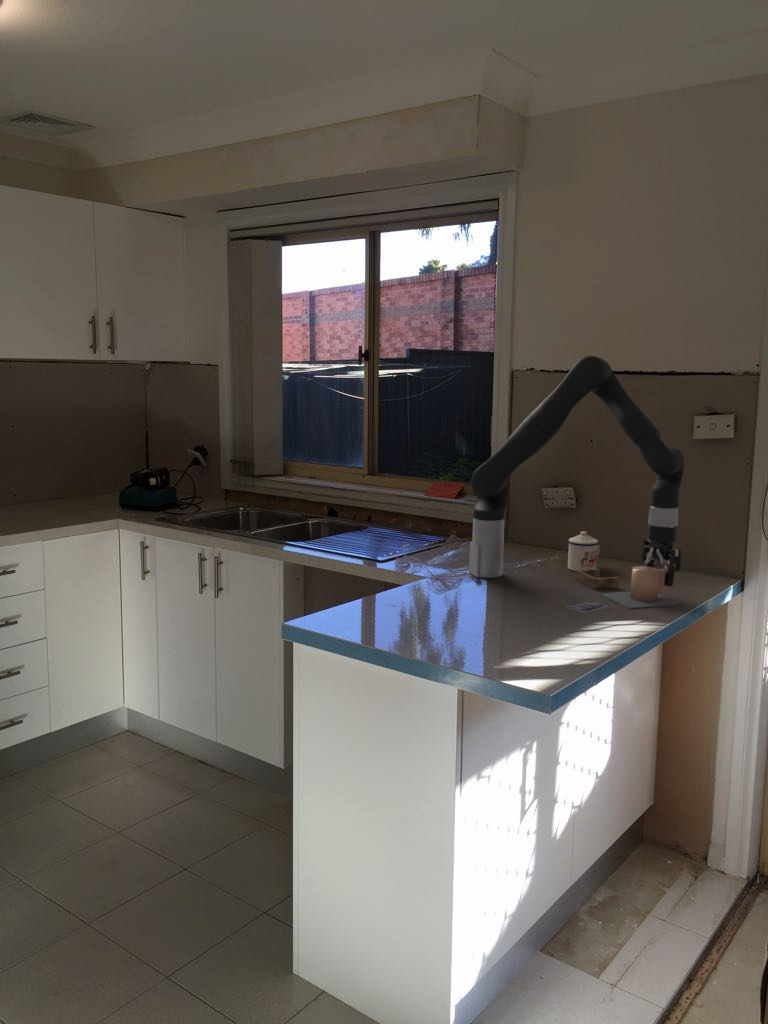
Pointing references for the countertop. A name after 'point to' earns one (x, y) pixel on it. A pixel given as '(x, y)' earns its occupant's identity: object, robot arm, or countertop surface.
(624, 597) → the charcoal mat
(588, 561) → the teacup with lid
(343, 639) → the countertop surface
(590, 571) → the walnut holder
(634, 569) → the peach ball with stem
